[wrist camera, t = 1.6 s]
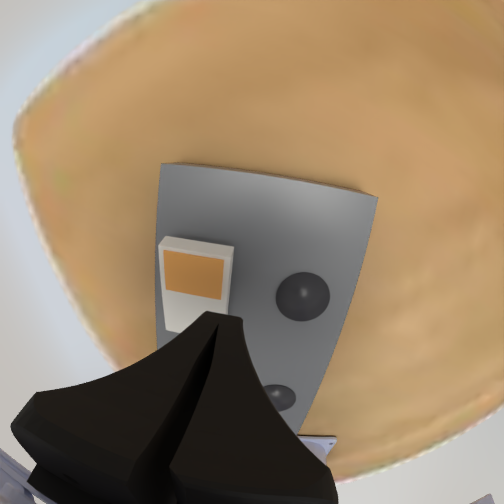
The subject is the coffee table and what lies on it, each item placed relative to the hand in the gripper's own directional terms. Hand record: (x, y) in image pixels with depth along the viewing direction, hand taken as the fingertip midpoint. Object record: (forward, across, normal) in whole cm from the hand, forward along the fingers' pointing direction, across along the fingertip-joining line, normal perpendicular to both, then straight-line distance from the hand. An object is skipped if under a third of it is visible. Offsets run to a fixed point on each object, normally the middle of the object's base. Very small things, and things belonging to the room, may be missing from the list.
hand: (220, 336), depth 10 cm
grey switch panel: (+10, -1, +6) cm, 11 cm away
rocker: (+6, +2, +1) cm, 6 cm away
